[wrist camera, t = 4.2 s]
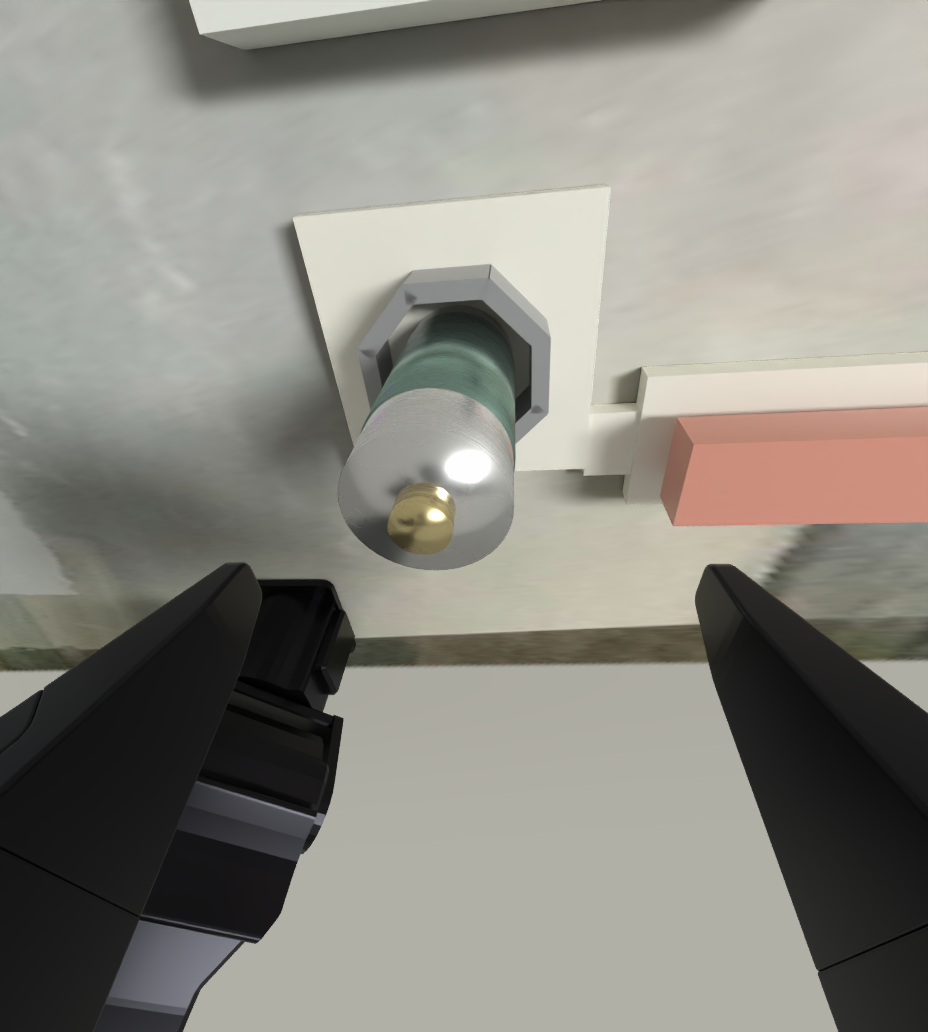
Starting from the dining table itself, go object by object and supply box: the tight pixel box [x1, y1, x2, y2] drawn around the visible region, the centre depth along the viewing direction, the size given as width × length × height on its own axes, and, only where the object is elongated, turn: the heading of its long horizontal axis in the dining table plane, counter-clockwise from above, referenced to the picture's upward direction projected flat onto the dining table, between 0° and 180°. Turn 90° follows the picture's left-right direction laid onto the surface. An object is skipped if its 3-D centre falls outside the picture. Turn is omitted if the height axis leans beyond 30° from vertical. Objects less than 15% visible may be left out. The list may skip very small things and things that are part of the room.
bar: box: [660, 407, 928, 526], centre depth 17 cm, size 12×4×2 cm, turn 95°
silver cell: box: [338, 305, 516, 570], centre depth 14 cm, size 4×4×10 cm
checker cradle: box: [293, 184, 928, 504], centre depth 17 cm, size 26×12×3 cm, turn 95°
